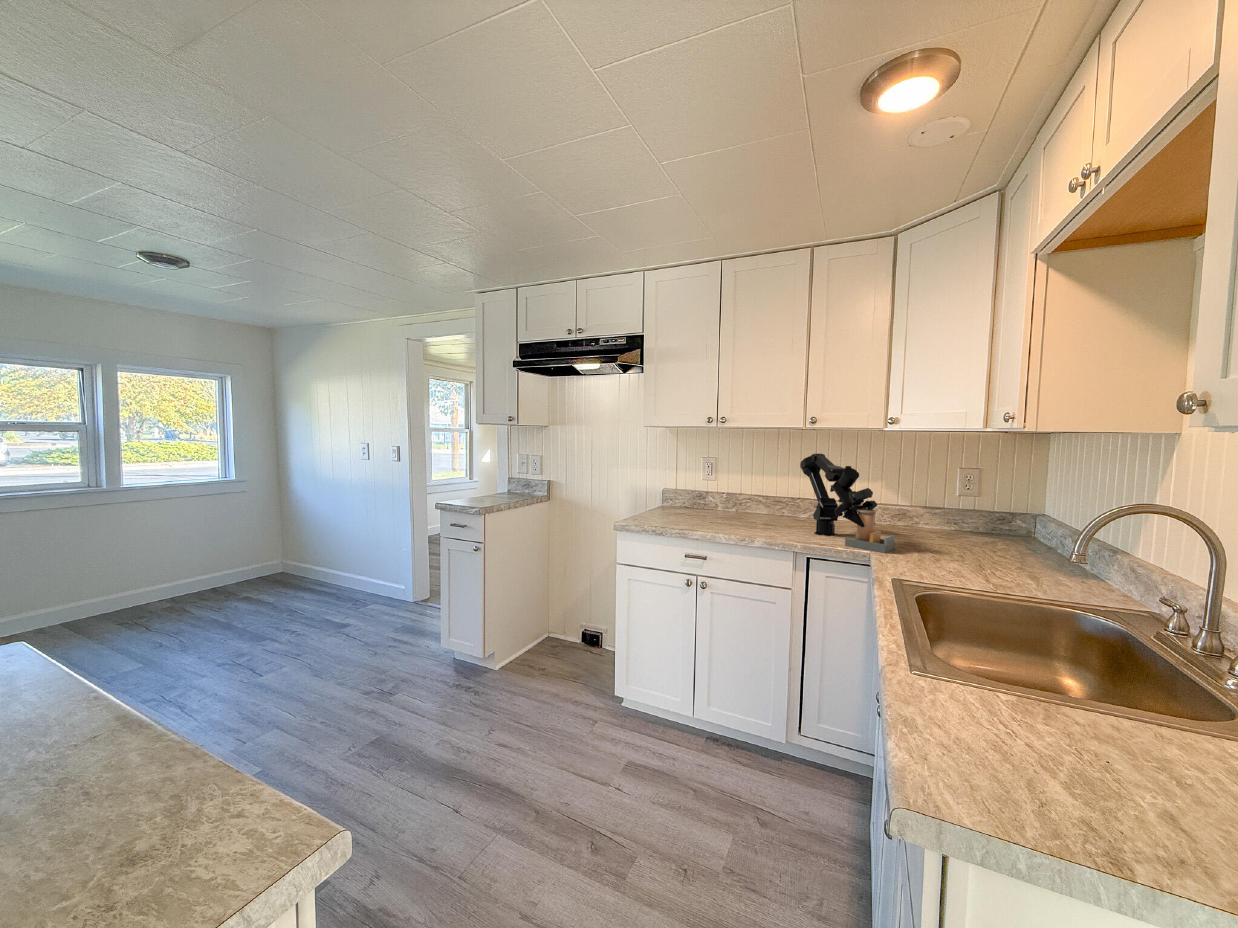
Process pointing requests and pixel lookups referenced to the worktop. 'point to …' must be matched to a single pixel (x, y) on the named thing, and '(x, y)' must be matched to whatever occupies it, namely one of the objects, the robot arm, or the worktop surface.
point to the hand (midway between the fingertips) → (868, 525)
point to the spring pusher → (875, 537)
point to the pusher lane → (873, 544)
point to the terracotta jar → (865, 524)
